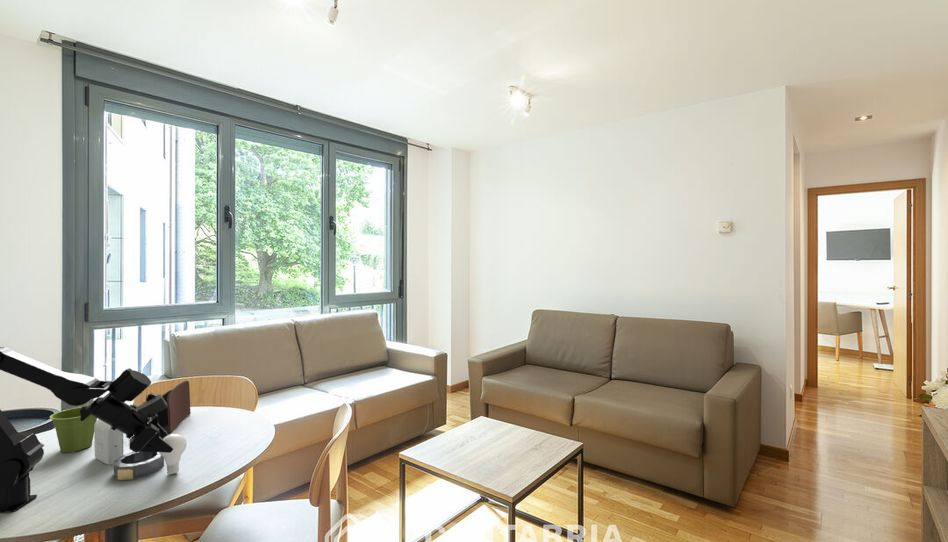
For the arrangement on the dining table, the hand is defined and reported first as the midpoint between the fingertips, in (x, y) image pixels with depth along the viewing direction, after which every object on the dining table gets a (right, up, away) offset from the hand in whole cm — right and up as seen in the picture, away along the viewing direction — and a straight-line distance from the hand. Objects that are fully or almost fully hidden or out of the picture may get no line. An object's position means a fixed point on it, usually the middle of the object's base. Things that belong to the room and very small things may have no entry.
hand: (170, 444), depth 119 cm
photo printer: (-24, -8, +9) cm, 27 cm away
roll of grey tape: (-11, -8, +3) cm, 14 cm away
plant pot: (-41, -8, +16) cm, 45 cm away
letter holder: (-27, -8, +36) cm, 45 cm away
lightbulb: (0, -8, +1) cm, 8 cm away
